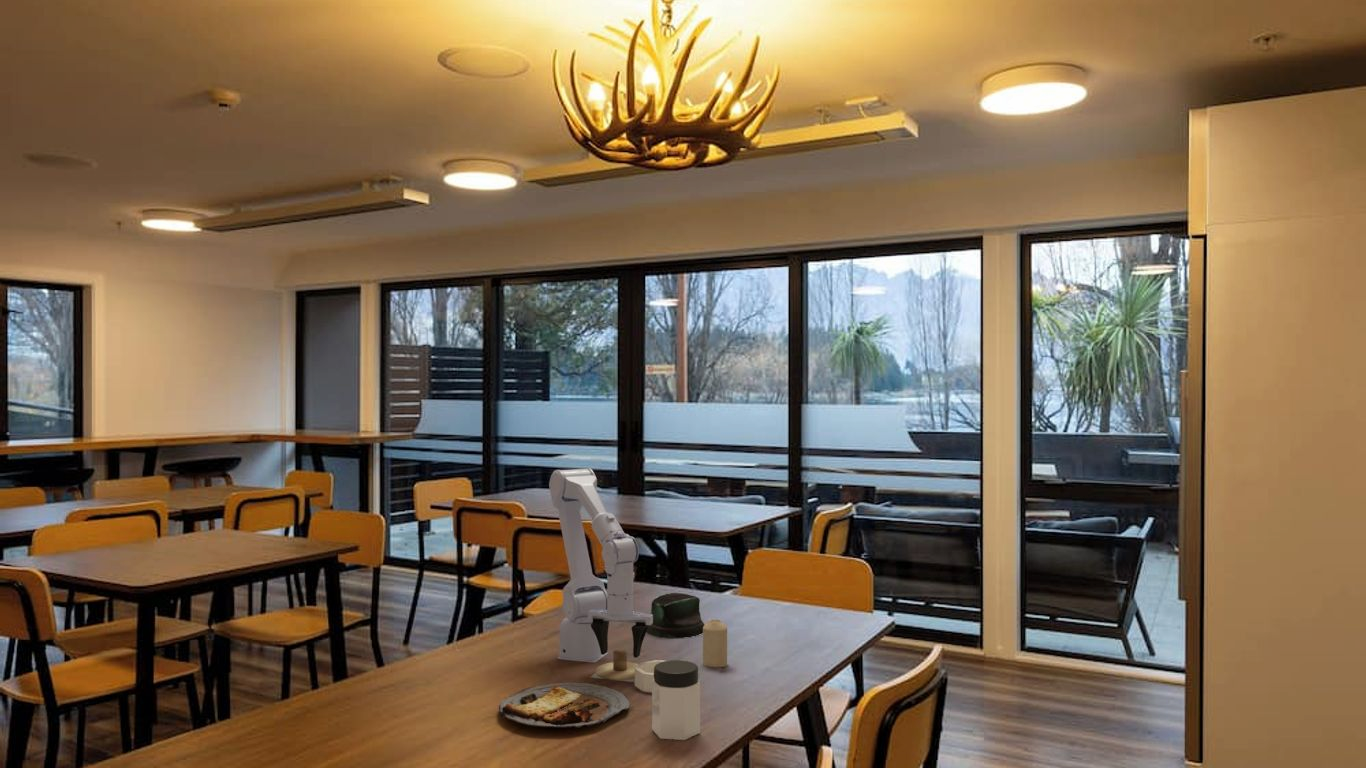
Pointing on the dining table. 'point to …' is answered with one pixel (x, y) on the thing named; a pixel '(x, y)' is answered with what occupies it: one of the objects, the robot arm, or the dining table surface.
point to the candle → (715, 644)
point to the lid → (617, 667)
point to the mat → (619, 680)
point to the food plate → (561, 705)
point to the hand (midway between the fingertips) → (620, 654)
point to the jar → (676, 700)
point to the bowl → (645, 675)
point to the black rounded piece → (675, 616)
